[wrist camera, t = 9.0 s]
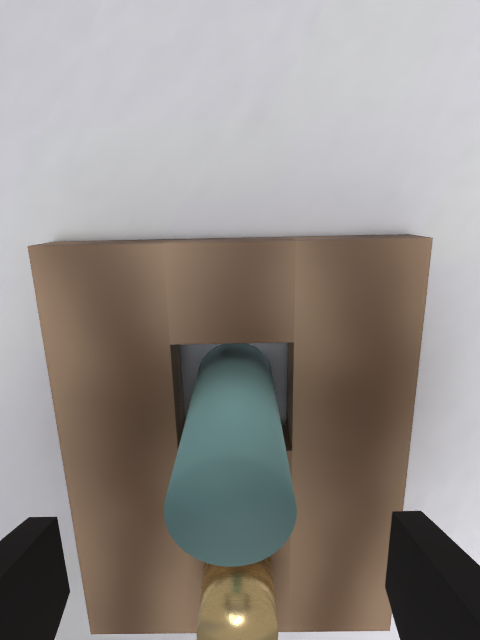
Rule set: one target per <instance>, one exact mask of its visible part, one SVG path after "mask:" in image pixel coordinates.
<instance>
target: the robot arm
mask: <svg viewBox="0 0 480 640" xmlns="http://www.w3.org/2000/svg"><path fill="white" fill-rule="evenodd" d="M385 589H386V592H387V596H388V599H389V603H390V607H391V610H392V614H393V617H394V620H395V624H396V627H397V630H398V634H399V637H400V640H480V566H479V565H478V564H477V563H476V562H475V561H474V560H473V559H472V558H471V557H470V556H469V555H468V554H467V553H465V552H464V551H463V550H462V549H461V548H460V547H459V546H458V545H457V544H456V543H455V542H454V541H453V540H452V539H451V538H449V537H448V536H447V535H446V534H445V533H444V532H443V531H442V530H441V529H440V528H439V527H438V526H437V525H436V524H435V523H434V522H432V521H431V520H430V519H429V518H428V517H427V516H426V515H425V514H424V513H423V512H422V511H392V520H391V530H390V540H389V550H388V560H387V570H386V580H385ZM69 593H70V589H69V583H68V577H67V571H66V566H65V560H64V554H63V548H62V543H61V537H60V531H59V525H58V520H57V517H29V518H28V519H26V520H25V521H24V522H23V523H21V524H20V525H19V526H18V527H16V528H15V529H14V530H13V531H12V532H10V533H9V534H8V535H7V536H6V537H4V538H3V539H2V540H1V541H0V640H54V638H55V636H56V633H57V630H58V627H59V624H60V621H61V618H62V615H63V612H64V609H65V605H66V602H67V599H68V596H69Z"/></svg>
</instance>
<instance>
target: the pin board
mask: <svg viewBox="0 0 480 640" xmlns="http://www.w3.org/2000/svg"><path fill="white" fill-rule="evenodd" d="M432 239H433V238H430V237H423V236H416V235H410V234H404V235H355V236H306V237H258V238H209V239H160V240H111V241H62V242H49V243H43V244H38V245H32V246H28V252H29V258H30V264H31V270H32V276H33V282H34V288H35V294H36V301H37V307H38V313H39V319H40V325H41V331H42V337H43V343H44V350H45V356H46V362H47V368H48V374H49V380H50V386H51V392H52V399H53V405H54V411H55V417H56V423H57V429H58V435H59V441H60V448H61V454H62V460H63V466H64V472H65V478H66V484H67V490H68V497H69V503H70V509H71V515H72V521H73V527H74V533H75V539H76V546H77V552H78V558H79V564H80V570H81V576H82V582H83V588H84V595H85V601H86V607H87V613H88V619H89V625H90V631H91V634H153V633H197V640H278V632H326V631H390V624H391V615H392V610H391V607H390V603H389V599H388V596H387V592H386V589H385V580H386V570H387V560H388V550H389V540H390V530H391V520H392V511H403V505H404V496H405V487H406V478H407V469H408V459H409V450H410V441H411V432H412V423H413V414H414V404H415V395H416V386H417V377H418V368H419V359H420V349H421V340H422V331H423V322H424V313H425V304H426V294H427V285H428V276H429V267H430V258H431V249H432ZM287 342H288V363H287V425H282V431H283V436H284V442H285V447H286V452H287V458H288V463H289V468H290V474H291V479H292V485H293V490H294V495H295V501H296V506H297V517H296V523H295V526H294V529H293V531H292V534H291V535H290V537H289V539H288V540H287V541H286V543H285V544H284V545H283V546H282V547H281V548H280V549H279V550H278V551H277V552H275V553H274V554H272V555H271V556H269V557H267V558H265V559H264V560H261V561H259V562H256V563H253V564H249V565H244V566H235V567H227V566H218V565H213V564H209V563H206V562H203V561H200V560H198V559H196V558H194V557H192V556H191V555H189V554H188V553H186V552H185V551H184V550H183V549H181V548H180V547H179V546H178V545H177V543H176V542H175V541H174V540H173V538H172V537H171V535H170V533H169V531H168V529H167V527H166V523H165V519H164V503H165V498H166V494H167V490H168V486H169V483H170V479H171V475H172V471H173V467H174V463H175V460H176V456H177V452H178V448H179V444H180V440H181V437H182V433H183V429H184V425H185V423H184V408H183V392H182V377H181V362H180V346H179V344H231V343H287Z"/></svg>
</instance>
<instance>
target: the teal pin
mask: <svg viewBox="0 0 480 640" xmlns="http://www.w3.org/2000/svg"><path fill="white" fill-rule="evenodd" d="M296 517H297V506H296V501H295V495H294V490H293V485H292V479H291V474H290V468H289V463H288V458H287V452H286V447H285V442H284V436H283V431H282V425H281V420H280V415H279V409H278V404H277V399H276V393H275V388H274V382H273V377H272V372H271V367H270V365H269V362H268V360H267V359H266V357H265V356H264V355H263V354H262V353H261V352H260V351H259V350H258V349H256V348H254V347H253V346H250V345H248V344H245V343H231V344H222V345H219V346H217V347H215V348H214V349H212V350H211V351H210V352H209V353H208V354H207V355H206V356H205V357H204V359H203V360H202V363H201V365H200V368H199V371H198V375H197V379H196V383H195V387H194V391H193V394H192V398H191V402H190V406H189V410H188V414H187V417H186V421H185V425H184V429H183V433H182V437H181V440H180V444H179V448H178V452H177V456H176V460H175V463H174V467H173V471H172V475H171V479H170V483H169V486H168V490H167V494H166V498H165V503H164V519H165V523H166V527H167V529H168V531H169V533H170V535H171V537H172V538H173V540H174V541H175V542H176V543H177V545H178V546H179V547H180V548H181V549H183V550H184V551H185V552H186V553H188V554H189V555H191V556H192V557H194V558H196V559H198V560H200V561H203V562H206V563H209V564H213V565H218V566H227V567H235V566H244V565H249V564H253V563H256V562H259V561H261V560H264V559H265V558H267V557H269V556H271V555H272V554H274V553H275V552H277V551H278V550H279V549H280V548H281V547H282V546H283V545H284V544H285V543H286V541H287V540H288V539H289V537H290V535H291V534H292V531H293V529H294V526H295V523H296Z"/></svg>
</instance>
